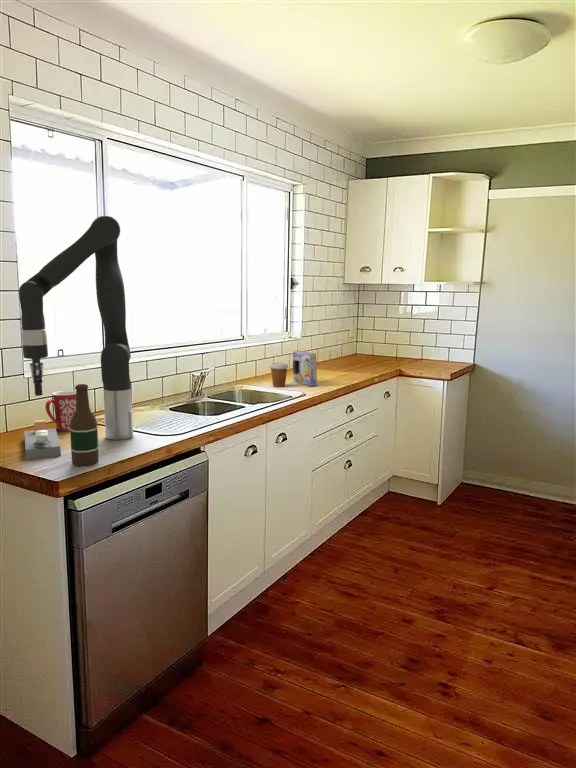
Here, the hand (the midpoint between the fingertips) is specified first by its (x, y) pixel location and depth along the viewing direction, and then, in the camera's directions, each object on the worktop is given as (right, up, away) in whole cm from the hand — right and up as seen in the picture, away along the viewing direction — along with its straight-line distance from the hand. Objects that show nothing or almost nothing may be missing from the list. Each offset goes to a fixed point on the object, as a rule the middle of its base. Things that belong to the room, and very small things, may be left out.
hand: (38, 395), depth 196 cm
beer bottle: (+22, -20, -18) cm, 35 cm away
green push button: (+6, -14, -12) cm, 19 cm away
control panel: (+2, -17, -1) cm, 17 cm away
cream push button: (+4, -13, -8) cm, 16 cm away
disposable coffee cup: (+78, +2, +116) cm, 140 cm away
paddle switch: (-2, -12, +6) cm, 14 cm away
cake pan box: (+92, +3, +124) cm, 154 cm away
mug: (-1, -13, +22) cm, 26 cm away
